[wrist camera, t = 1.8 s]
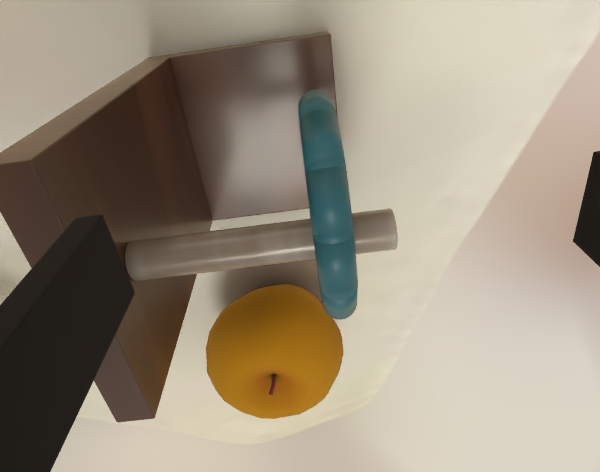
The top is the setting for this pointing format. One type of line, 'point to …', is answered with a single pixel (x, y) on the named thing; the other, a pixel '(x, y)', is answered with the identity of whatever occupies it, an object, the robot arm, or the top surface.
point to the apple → (274, 352)
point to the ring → (329, 204)
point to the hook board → (178, 186)
